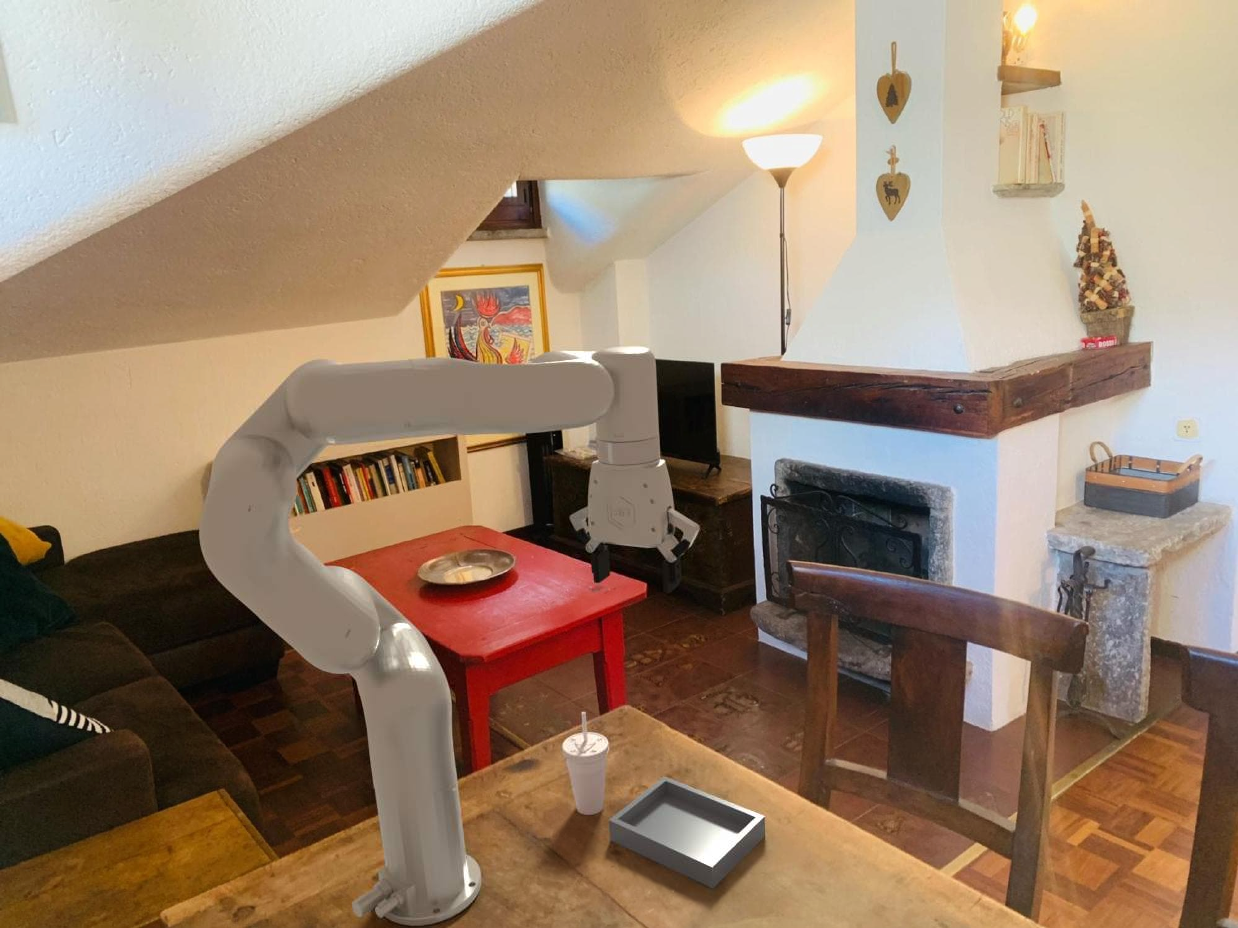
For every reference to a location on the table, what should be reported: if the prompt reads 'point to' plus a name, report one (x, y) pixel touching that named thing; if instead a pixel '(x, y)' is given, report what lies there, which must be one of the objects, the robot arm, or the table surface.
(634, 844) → the grey tray
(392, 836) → the robot arm
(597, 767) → the smoothie
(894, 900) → the table surface
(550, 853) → the table surface
